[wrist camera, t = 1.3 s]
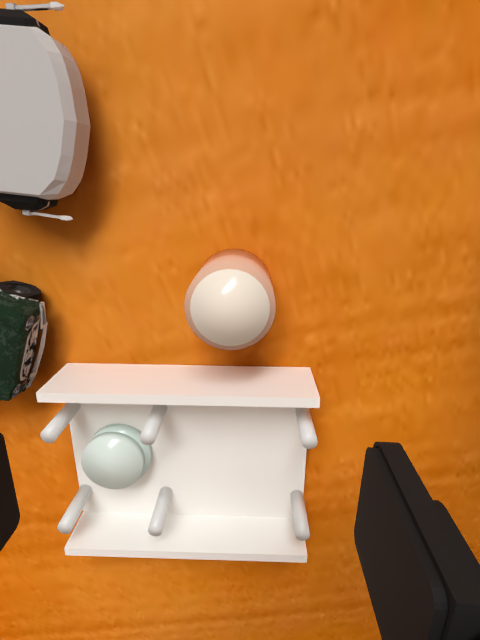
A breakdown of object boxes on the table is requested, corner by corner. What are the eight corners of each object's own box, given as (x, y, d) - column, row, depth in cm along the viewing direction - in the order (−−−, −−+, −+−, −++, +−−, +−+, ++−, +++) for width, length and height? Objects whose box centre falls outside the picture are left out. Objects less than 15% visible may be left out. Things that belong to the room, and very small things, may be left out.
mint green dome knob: (150, 424, 34) (144, 438, 32) (154, 476, 36) (148, 492, 34) (87, 422, 34) (77, 436, 32) (94, 475, 36) (85, 491, 34)
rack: (309, 367, 33) (321, 401, 28) (299, 514, 38) (307, 567, 33) (67, 363, 34) (32, 395, 28) (89, 508, 39) (63, 559, 34)
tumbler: (272, 249, 30) (277, 263, 24) (270, 322, 32) (274, 352, 26) (195, 248, 30) (182, 262, 24) (197, 321, 32) (185, 350, 26)
